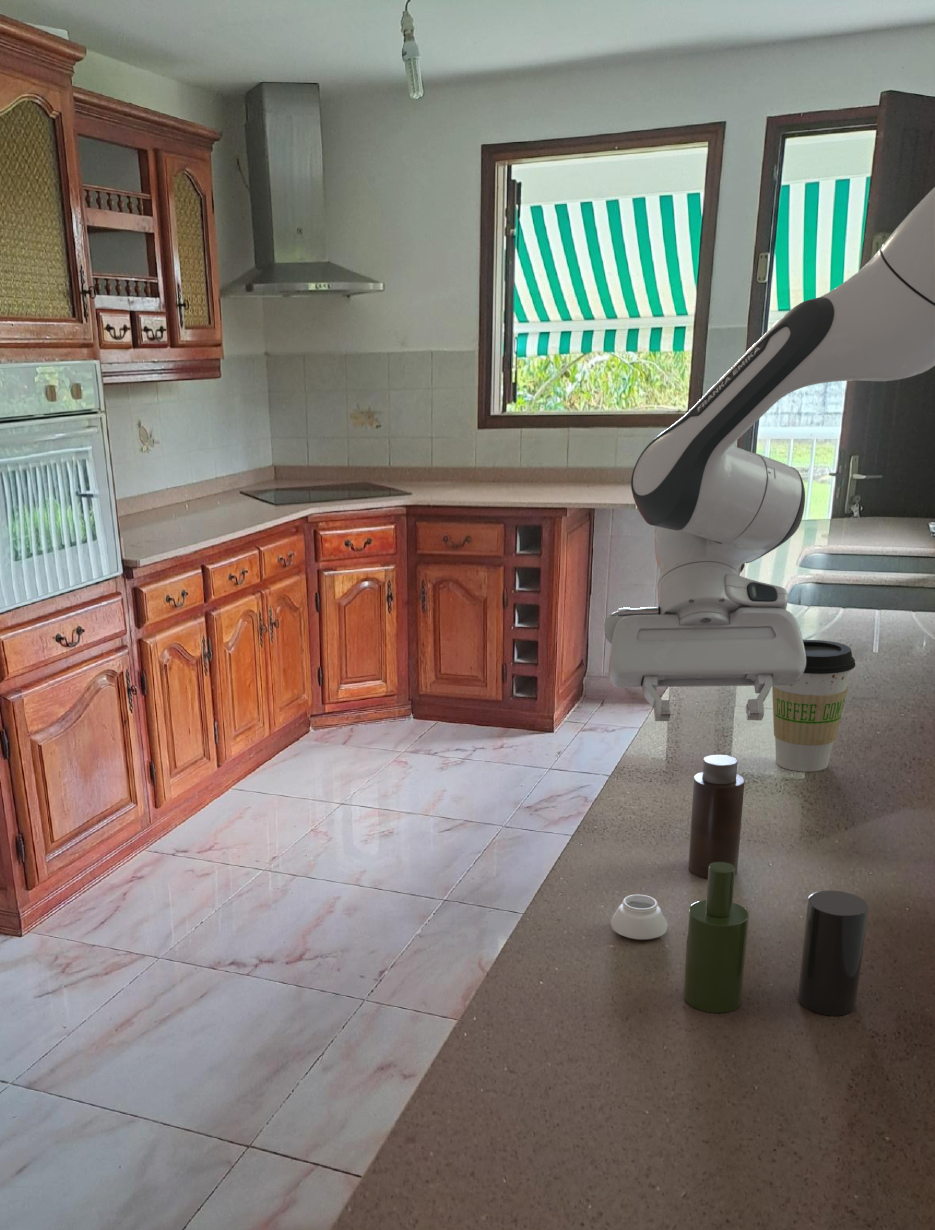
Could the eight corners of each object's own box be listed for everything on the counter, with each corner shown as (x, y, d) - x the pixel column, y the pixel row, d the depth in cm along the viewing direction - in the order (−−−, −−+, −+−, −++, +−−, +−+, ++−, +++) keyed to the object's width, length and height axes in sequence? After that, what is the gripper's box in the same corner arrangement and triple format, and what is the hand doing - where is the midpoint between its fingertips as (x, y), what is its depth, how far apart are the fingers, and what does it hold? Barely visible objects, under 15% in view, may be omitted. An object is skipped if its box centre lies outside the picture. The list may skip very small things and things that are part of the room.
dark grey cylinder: (847, 987, 93) (859, 890, 90) (862, 1016, 89) (875, 916, 86) (792, 986, 94) (802, 889, 91) (804, 1015, 90) (815, 915, 86)
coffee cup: (790, 781, 137) (802, 661, 131) (745, 756, 146) (754, 643, 140) (861, 770, 139) (875, 652, 133) (812, 746, 148) (823, 635, 142)
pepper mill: (732, 860, 117) (741, 751, 113) (741, 880, 113) (750, 768, 108) (685, 859, 118) (691, 751, 113) (691, 879, 113) (699, 768, 109)
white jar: (661, 946, 101) (670, 922, 105) (663, 917, 100) (672, 894, 104) (606, 938, 103) (617, 914, 107) (607, 909, 102) (618, 886, 106)
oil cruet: (735, 984, 95) (746, 855, 90) (746, 1014, 90) (758, 879, 86) (679, 982, 95) (687, 854, 91) (687, 1012, 91) (696, 879, 87)
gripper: (605, 593, 122) (610, 705, 117) (802, 588, 119) (816, 703, 114) (601, 624, 128) (605, 732, 122) (789, 620, 125) (802, 731, 119)
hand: (708, 718), depth 118 cm, fingers open, 8 cm apart
